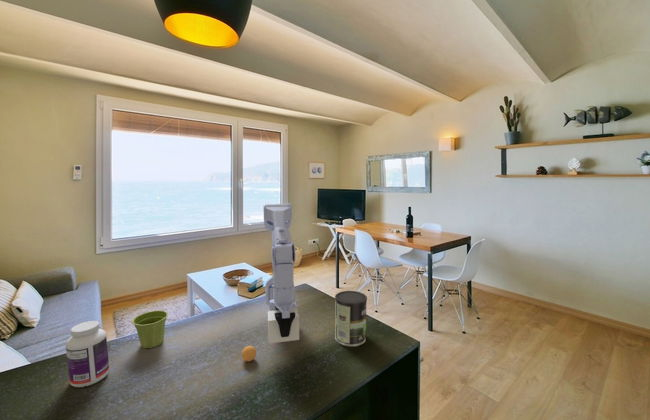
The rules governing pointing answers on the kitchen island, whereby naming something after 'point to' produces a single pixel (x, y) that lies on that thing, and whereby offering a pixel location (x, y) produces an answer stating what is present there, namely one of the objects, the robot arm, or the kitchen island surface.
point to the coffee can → (350, 318)
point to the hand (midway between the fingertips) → (283, 330)
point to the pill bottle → (87, 354)
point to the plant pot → (150, 328)
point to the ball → (249, 353)
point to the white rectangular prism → (275, 331)
